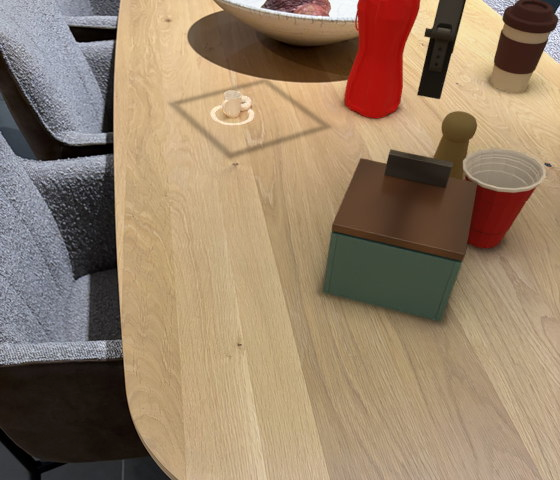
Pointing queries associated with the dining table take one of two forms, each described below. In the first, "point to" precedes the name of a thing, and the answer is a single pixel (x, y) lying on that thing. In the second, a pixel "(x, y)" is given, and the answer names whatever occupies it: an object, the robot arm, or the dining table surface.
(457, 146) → the brown pawn
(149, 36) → the dining table surface
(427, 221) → the sliding lid
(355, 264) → the storage box
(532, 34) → the coffee cup
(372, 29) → the water bottle
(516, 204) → the plastic cup
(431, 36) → the robot arm
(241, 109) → the teacup and saucer
